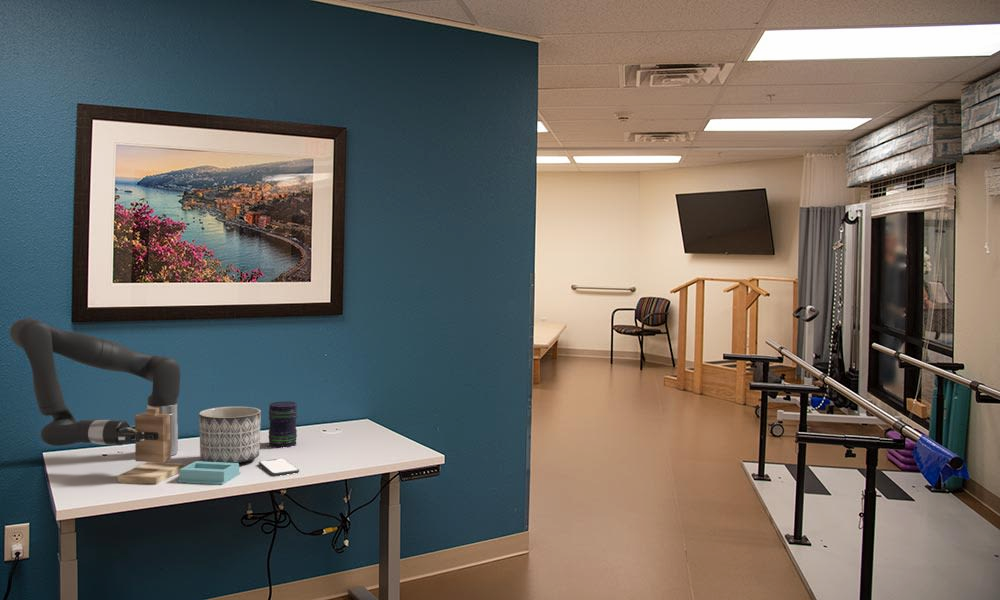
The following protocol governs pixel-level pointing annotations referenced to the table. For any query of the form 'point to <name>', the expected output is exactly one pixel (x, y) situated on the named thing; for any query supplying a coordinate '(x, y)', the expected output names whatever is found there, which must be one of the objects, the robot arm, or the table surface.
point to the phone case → (278, 467)
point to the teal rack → (208, 472)
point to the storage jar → (282, 424)
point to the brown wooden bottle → (153, 448)
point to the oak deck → (150, 473)
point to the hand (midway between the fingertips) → (161, 434)
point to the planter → (229, 434)
